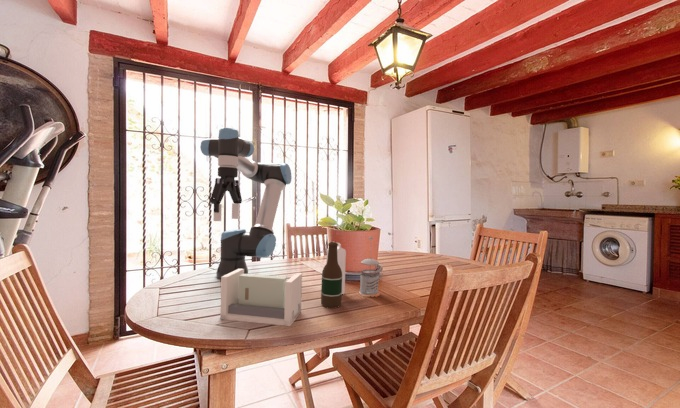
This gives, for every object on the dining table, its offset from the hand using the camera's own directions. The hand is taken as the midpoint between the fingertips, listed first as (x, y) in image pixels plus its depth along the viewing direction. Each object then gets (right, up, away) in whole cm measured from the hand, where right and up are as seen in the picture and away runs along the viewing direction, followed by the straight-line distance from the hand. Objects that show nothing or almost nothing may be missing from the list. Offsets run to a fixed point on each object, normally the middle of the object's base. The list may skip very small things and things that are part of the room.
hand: (226, 219), depth 124 cm
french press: (+59, -33, +9) cm, 68 cm away
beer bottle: (+42, -33, -6) cm, 54 cm away
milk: (+44, -32, +8) cm, 55 cm away
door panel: (+19, -30, -19) cm, 40 cm away
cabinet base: (+19, -32, -19) cm, 42 cm away
